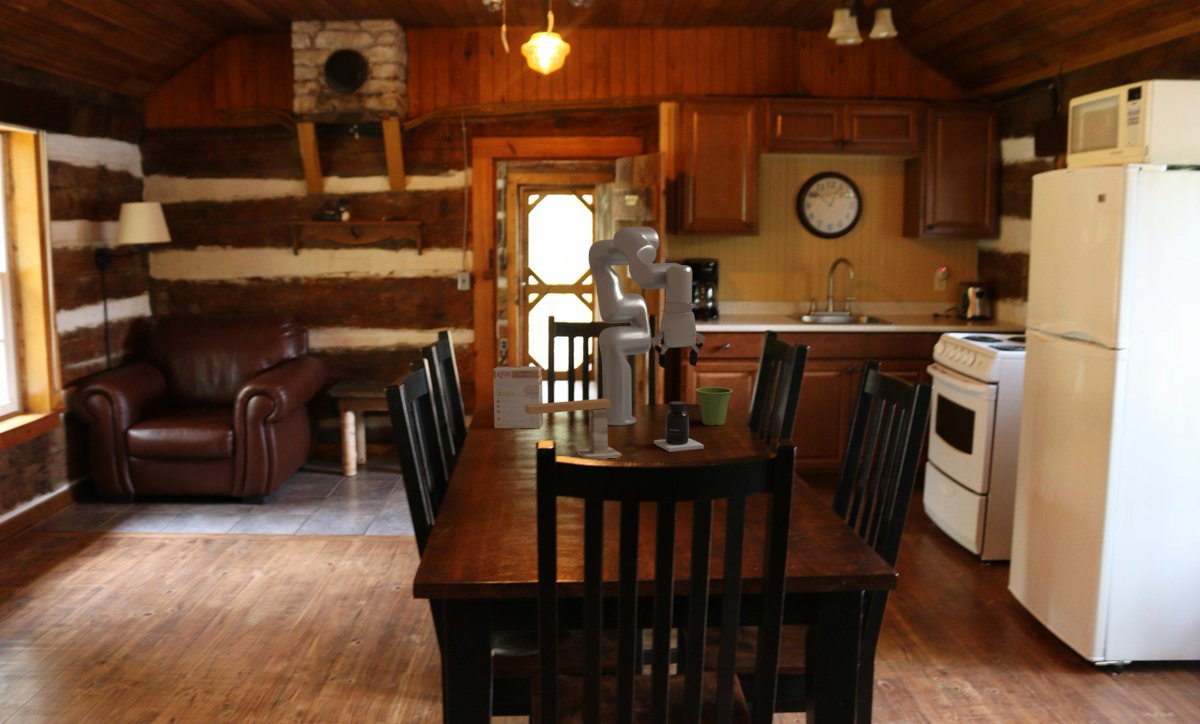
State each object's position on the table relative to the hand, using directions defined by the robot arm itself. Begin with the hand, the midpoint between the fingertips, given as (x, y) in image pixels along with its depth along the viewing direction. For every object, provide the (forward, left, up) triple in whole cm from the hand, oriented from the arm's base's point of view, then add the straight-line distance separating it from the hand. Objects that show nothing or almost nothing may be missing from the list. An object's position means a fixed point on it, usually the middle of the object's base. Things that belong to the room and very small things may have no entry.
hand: (677, 366), depth 290 cm
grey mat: (0, 0, -24) cm, 24 cm away
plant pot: (-24, +24, -24) cm, 41 cm away
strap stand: (+2, -26, -24) cm, 35 cm away
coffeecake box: (-45, -36, -24) cm, 62 cm away
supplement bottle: (0, 0, -23) cm, 23 cm away
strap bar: (+2, -35, -10) cm, 36 cm away
